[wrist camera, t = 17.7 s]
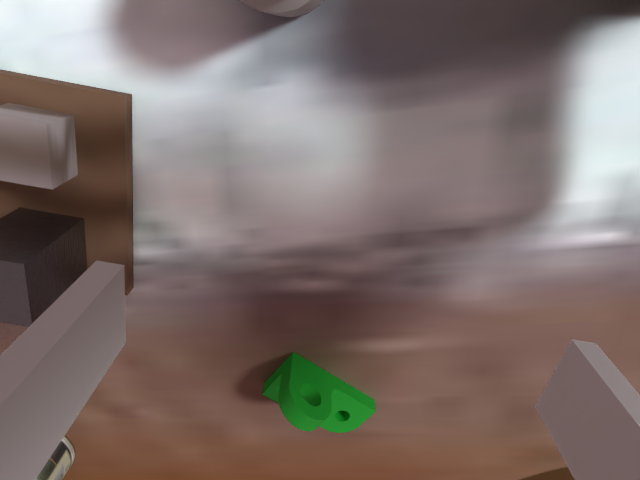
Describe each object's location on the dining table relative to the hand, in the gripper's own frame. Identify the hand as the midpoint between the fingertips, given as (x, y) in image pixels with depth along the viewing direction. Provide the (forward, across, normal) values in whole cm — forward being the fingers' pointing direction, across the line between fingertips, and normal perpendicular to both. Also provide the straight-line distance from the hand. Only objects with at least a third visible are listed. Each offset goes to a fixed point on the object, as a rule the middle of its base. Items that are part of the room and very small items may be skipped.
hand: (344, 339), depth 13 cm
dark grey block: (+27, -25, -15) cm, 40 cm away
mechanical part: (+29, +4, -31) cm, 42 cm away
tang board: (+29, -25, -10) cm, 39 cm away
